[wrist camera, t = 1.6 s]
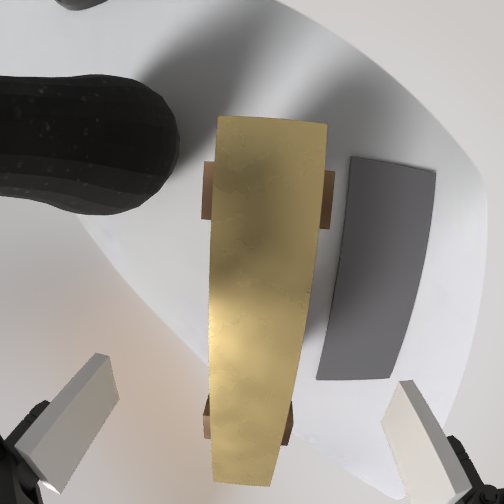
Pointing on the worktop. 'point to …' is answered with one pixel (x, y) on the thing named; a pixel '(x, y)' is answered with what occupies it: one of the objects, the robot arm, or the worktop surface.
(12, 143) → the bottle
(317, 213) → the rail
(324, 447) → the worktop surface
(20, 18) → the worktop surface
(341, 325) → the mat
